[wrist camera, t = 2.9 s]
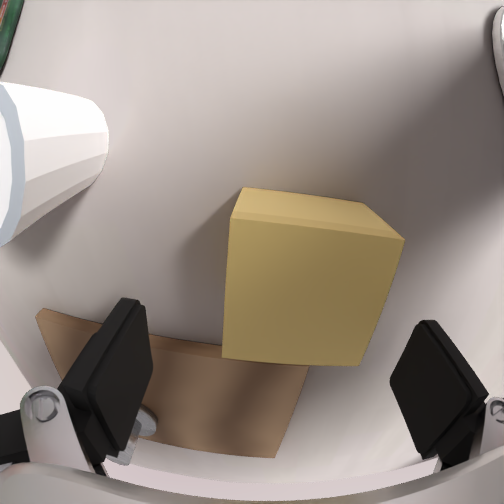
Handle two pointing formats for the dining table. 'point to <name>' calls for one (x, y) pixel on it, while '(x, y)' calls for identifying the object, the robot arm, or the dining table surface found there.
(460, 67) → the dining table surface
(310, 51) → the dining table surface
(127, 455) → the stub
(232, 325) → the tan cardboard cube
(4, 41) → the coffee jar
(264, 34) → the dining table surface
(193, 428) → the board
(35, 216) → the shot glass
